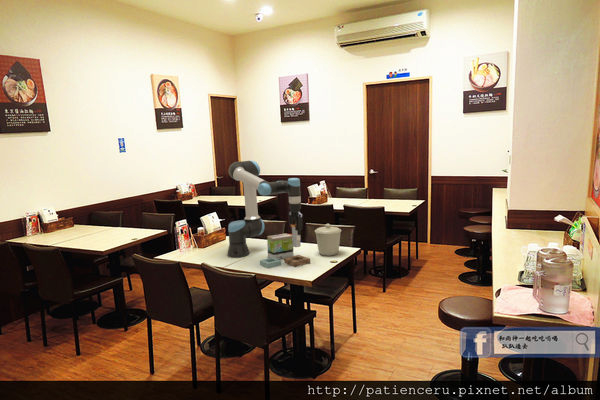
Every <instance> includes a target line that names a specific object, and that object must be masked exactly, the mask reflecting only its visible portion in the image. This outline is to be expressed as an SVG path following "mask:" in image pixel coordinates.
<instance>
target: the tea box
mask: <svg viewBox="0 0 600 400" xmlns="http://www.w3.org/2000/svg"><path fill="white" fill-rule="evenodd" d="M266 237H267V238H266V239H267V240H266V241H267V244H266V245H267V247H266V248H267V258H272V257H273V258H276V259H279V260H281V259H282V260H283V259H284V258H287V257H292V256H294V247H293V241H292V234H288V233H280V234H274V235H268V236H266Z"/></svg>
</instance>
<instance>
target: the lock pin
mask: <svg viewBox="0 0 600 400" xmlns="http://www.w3.org/2000/svg"><path fill="white" fill-rule="evenodd" d="M291 227H292V229H291V235H292V241H293V248H300V247H301V240H296V229H297V228H296V223H295V224H291ZM291 227H290V228H291Z"/></svg>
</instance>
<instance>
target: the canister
mask: <svg viewBox="0 0 600 400" xmlns="http://www.w3.org/2000/svg"><path fill="white" fill-rule="evenodd" d="M324 225H325V226H320V227H317V228H316V229H315V230H314V233H315V236H316V237H315V238H316V243H317V250H318V251H317V252H318V253H319V254H320V255H321V256H323V257H324V256H326V257H329V256H335V255H337V254H338V253H339V250H340V244H341V243H340V241H341V232H342V229H341V228H339V227H338V226H331V224H330V223H326V224H324Z"/></svg>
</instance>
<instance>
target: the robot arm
mask: <svg viewBox="0 0 600 400" xmlns="http://www.w3.org/2000/svg"><path fill="white" fill-rule="evenodd" d="M260 174H261V168H260V165H259V163H258V162H256V161H255V160H243V161H235V162H234V161H233V163H231V164H230V165H229V168H228V175H229V176H230V178H232V179H233V180H235V181H238V182H239V181H240V182H242V184H243V194H244V206H245V208H244V209H245V217H244V219H243V220H242V219H241V220H235V221H231V222H229V223H228V228H227V230H228V244H229V245H228V249H227V253H226V254H227V257H229V258H238V259H239V258H243V257H248V256H249V255H250V249H249V247H248V244H247V239H248V238H249V239H250V238H254V237H258V236H261V235H262V234H263V233H264V231H265V222H264V221H263V219H262V218H261V216H260V215H259V212H258V210H259V209H258V208H259V207H258V199H257V192H258V193H259V195H260V196H270V195H276V194H283V193H286V194H288V203H289V204H288V209H289V210H290V211H288V212H287V214H288V225H289V228H290V229H291V230H292V227H291V224H296V228H297V229H296V240H300V241H301V231H302V230H303V229H304V227H303V226H304V222H303V217H304V214H303V213H301V211H300V210H301V209H302V203H301V202H302V200H301V198H302V197H301V195H302V194H301V181H300V178H297V177H291V178H288V179H287V180H277V181H271V182H269V181H266V180H265V179H263V178H260V177H259V176H260Z"/></svg>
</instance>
